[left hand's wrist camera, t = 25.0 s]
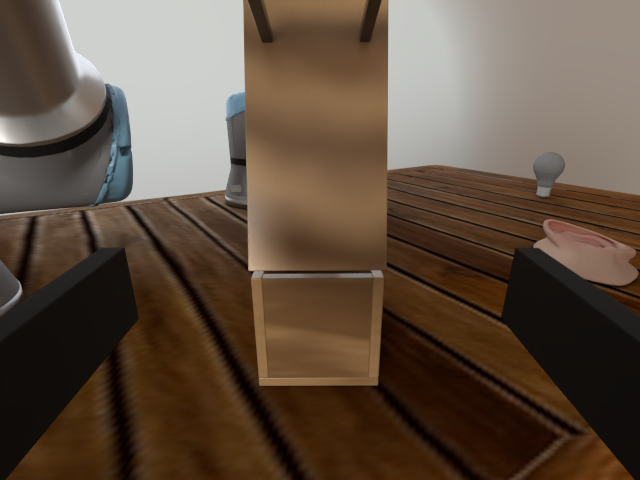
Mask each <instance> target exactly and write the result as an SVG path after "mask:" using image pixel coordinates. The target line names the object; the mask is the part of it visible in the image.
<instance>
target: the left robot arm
mask: <svg viewBox="0 0 640 480" xmlns="http://www.w3.org/2000/svg"><path fill="white" fill-rule="evenodd" d="M132 185H133V162H132V152H131V133H130V124H129V116H128V109H127V103H126V98H125V95H124V92H123V91H122V90H121V89H120V88H118V87H116V86H111V85H109V84H104V82H103V79H102V77H101V75H100V73H99V72H98V70H97V69H96V68H95V67H94V65H93V64H92V63H90V62H89V61H88V60H87V59H86V58H84V57H83V56H81V55H80V54H78V53H77V52H75V51H74V48H73V45H72V41H71V38H70V35H69V32H68V28H67V25H66V22H65V19H64V15H63V12H62V9H61V6H60V2H59V0H0V214H5V213H15V212H26V211H37V210H49V209H60V208H72V207H84V206H88V207H95V206H97V205H99V204H104V203H111V202H117V201H121V200H123V199H125V198H127V197H128V195H129V194H130V193H131V190H132ZM138 319H139V317H138V312H137V307H136V302H135V297H134V292H133V287H132V283H131V278H130V273H129V268H128V263H127V258H126V253H125V248H101V249H99V250H98V251H96V252H95V253H93V254H92V255H90V256H89V257H87V258H86V259H84V260H83V261H82V262H80V263H79V264H77V265H76V266H74V267H73V268H71V269H70V270H68V271H67V272H65V273H64V274H62V275H61V276H59V277H58V278H56V279H55V280H54V281H52V282H51V283H49V284H48V285H46V286H45V287H43V288H42V289H40V290H39V291H37V292H36V293H34V294H33V295H31V296H30V297H28V298H27V299H26V300H25V297H24V294H23V291H22V288H21V284H20V282H19V281H18V280H17V279H16V278H15V277H14V276H13V274H12V273H11V272H10V271H9V270H8V269H7V267H6V266H5V265H4V264H3V263H2V262H1V260H0V480H5V479H6V478H7V477H8V476H9V475H10V473H11V472H12V471H13V470H14V469H15V467H16V466H17V465H18V464H19V463H20V461H21V460H22V459H23V458H24V456H25V455H26V454H27V453H28V452H29V450H30V449H31V448H32V447H33V446H34V444H35V443H36V442H37V441H38V440H39V438H40V437H41V436H42V435H43V434H44V432H45V431H46V430H47V429H48V427H49V426H50V425H51V424H52V423H53V421H54V420H55V419H56V418H57V417H58V415H59V414H60V413H61V412H62V411H63V409H64V408H65V407H66V406H67V405H68V403H69V402H70V401H71V400H72V399H73V397H74V396H75V395H76V394H77V392H78V391H79V390H80V389H81V388H82V386H83V385H84V384H85V383H86V382H87V380H88V379H89V378H90V377H91V376H92V374H93V373H94V372H95V371H96V370H97V368H98V367H99V366H100V365H101V363H102V362H103V361H104V360H105V359H106V357H107V356H108V355H109V354H110V353H111V351H112V350H113V349H114V348H115V347H116V345H117V344H118V343H119V342H120V341H121V339H122V338H123V337H124V336H125V335H126V333H127V332H128V331H129V330H130V328H131V327H132V326H133V325H134V324H135V322H136V321H137V320H138ZM501 319H502V320H503V321H504V322H505V324H506V325H507V326H508V327H509V328H510V330H511V331H512V332H513V333H514V335H515V336H516V337H517V338H518V339H519V341H520V342H521V343H522V344H523V345H524V347H525V348H526V349H527V350H528V351H529V353H530V354H531V355H532V356H533V357H534V359H535V360H536V361H537V362H538V363H539V365H540V366H541V367H542V368H543V370H544V371H545V372H546V373H547V374H548V376H549V377H550V378H551V379H552V380H553V382H554V383H555V384H556V385H557V386H558V388H559V389H560V390H561V391H562V392H563V394H564V395H565V396H566V397H567V399H568V400H569V401H570V402H571V403H572V405H573V406H574V407H575V408H576V409H577V411H578V412H579V413H580V414H581V415H582V417H583V418H584V419H585V420H586V421H587V423H588V424H589V425H590V426H591V427H592V429H593V430H594V431H595V432H596V434H597V435H598V436H599V437H600V438H601V440H602V441H603V442H604V443H605V444H606V446H607V447H608V448H609V449H610V450H611V452H612V453H613V454H614V455H615V456H616V458H617V459H618V460H619V461H620V463H621V464H622V465H623V466H624V467H625V469H626V470H627V471H628V472H629V473H630V475H631V476H632V477H633V478H634V479H635V480H640V316H638V315H637V314H635V313H634V312H632V311H631V310H629V309H628V308H626V307H625V306H623V305H622V304H620V303H619V302H617V301H616V300H614V299H613V298H612V297H610V296H609V295H607V294H606V293H604V292H603V291H601V290H600V289H598V288H597V287H595V286H594V285H592V284H591V283H589V282H588V281H586V280H585V279H584V278H582V277H581V276H579V275H578V274H576V273H575V272H573V271H572V270H570V269H569V268H567V267H566V266H564V265H563V264H561V263H560V262H558V261H557V260H556V259H554V258H553V257H551V256H550V255H548V254H547V253H545V252H544V251H542V250H541V249H539V248H515V253H514V258H513V263H512V268H511V273H510V278H509V283H508V287H507V292H506V297H505V302H504V307H503V312H502V317H501Z"/></svg>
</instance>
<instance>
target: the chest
mask: <svg viewBox="0 0 640 480" xmlns="http://www.w3.org/2000/svg"><path fill="white" fill-rule="evenodd" d="M251 285H252V298H253V311H254V323H255V336H256V349H257V362H258V374H259V385H260V386H343V385H378V376H379V359H380V342H381V326H382V309H383V292H384V276H383V274H382V271H381V270H348V271H254V273H253V275H252V278H251Z"/></svg>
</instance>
